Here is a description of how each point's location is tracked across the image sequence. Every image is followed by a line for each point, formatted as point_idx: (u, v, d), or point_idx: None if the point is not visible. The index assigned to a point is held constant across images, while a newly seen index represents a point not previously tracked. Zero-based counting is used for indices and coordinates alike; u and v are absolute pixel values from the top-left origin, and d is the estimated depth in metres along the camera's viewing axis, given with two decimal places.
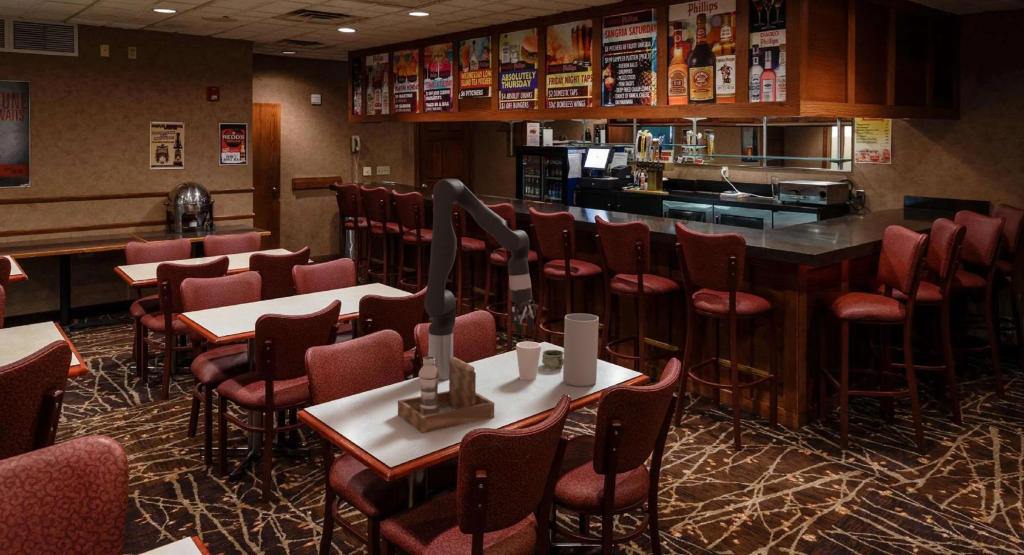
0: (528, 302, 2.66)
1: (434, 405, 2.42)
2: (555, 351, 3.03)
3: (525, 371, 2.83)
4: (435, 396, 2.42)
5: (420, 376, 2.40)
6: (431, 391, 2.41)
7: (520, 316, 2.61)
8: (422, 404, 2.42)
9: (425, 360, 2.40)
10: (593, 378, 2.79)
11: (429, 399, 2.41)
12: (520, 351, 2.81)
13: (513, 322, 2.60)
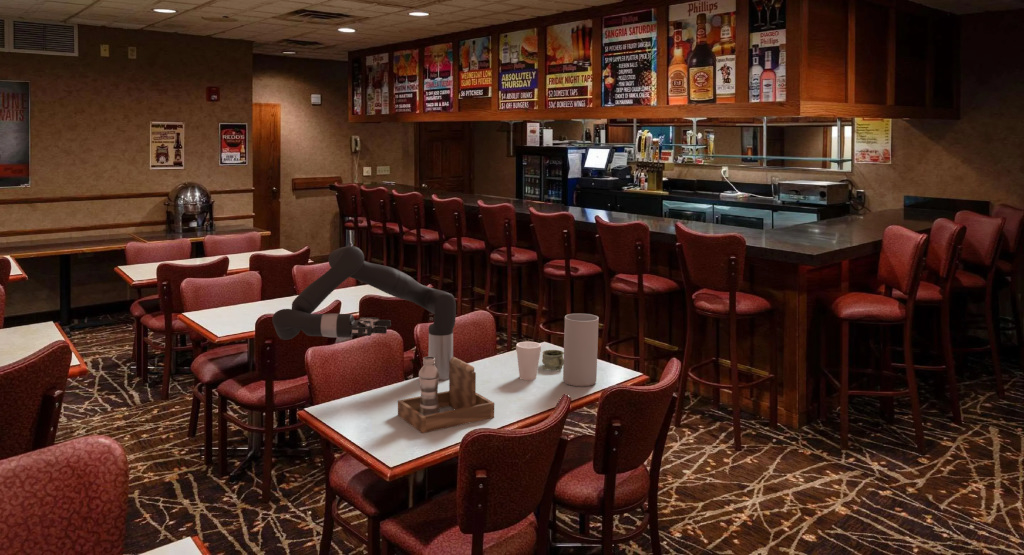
0: None
1: (434, 405, 2.42)
2: (555, 351, 3.03)
3: (525, 371, 2.83)
4: (435, 396, 2.42)
5: (420, 376, 2.40)
6: (431, 391, 2.41)
7: None
8: (422, 404, 2.42)
9: (425, 360, 2.40)
10: (593, 378, 2.79)
11: (429, 399, 2.41)
12: (520, 351, 2.81)
13: None
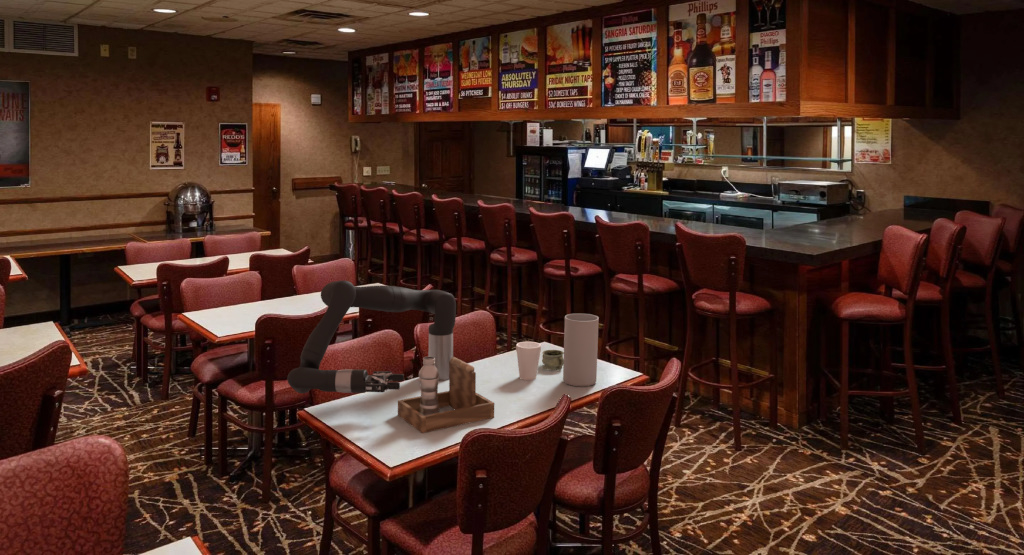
0: None
1: (434, 405, 2.42)
2: (555, 351, 3.03)
3: (525, 371, 2.83)
4: (435, 396, 2.42)
5: (420, 376, 2.40)
6: (431, 391, 2.41)
7: None
8: (422, 404, 2.42)
9: (425, 360, 2.40)
10: (593, 378, 2.79)
11: (429, 399, 2.41)
12: (520, 351, 2.81)
13: None
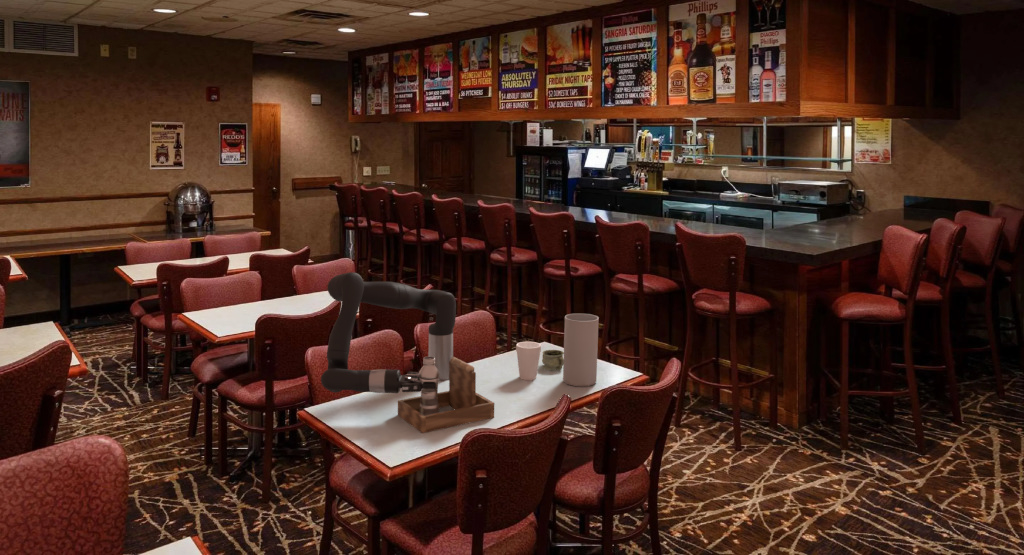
0: None
1: (434, 405, 2.42)
2: (555, 351, 3.03)
3: (525, 371, 2.83)
4: (435, 396, 2.42)
5: (420, 376, 2.40)
6: (431, 391, 2.41)
7: None
8: (422, 404, 2.42)
9: (425, 360, 2.40)
10: (593, 378, 2.79)
11: (429, 399, 2.41)
12: (520, 351, 2.81)
13: None
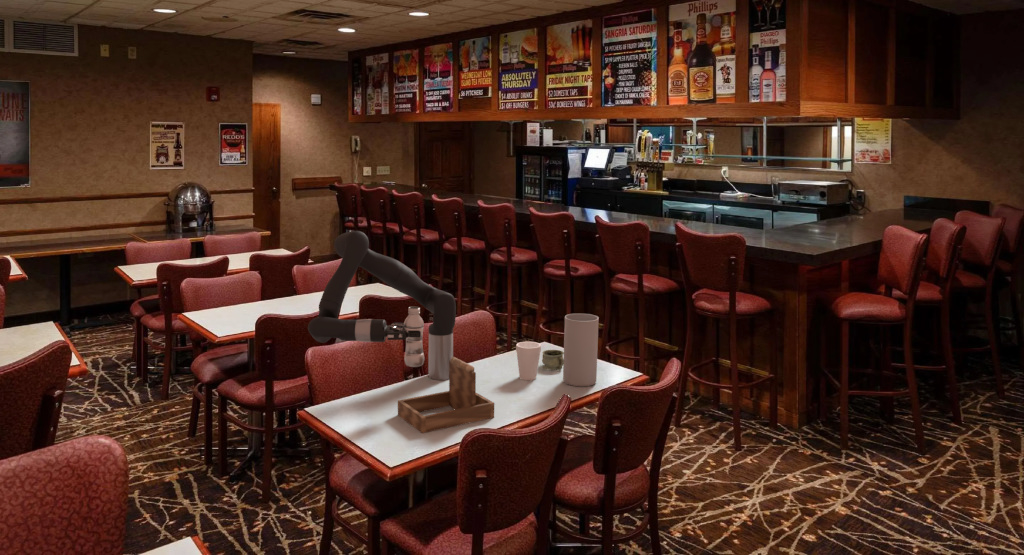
0: None
1: (419, 354, 2.47)
2: (555, 351, 3.03)
3: (525, 371, 2.83)
4: (420, 345, 2.47)
5: (405, 325, 2.46)
6: (416, 340, 2.46)
7: None
8: (407, 353, 2.47)
9: (410, 309, 2.45)
10: (593, 378, 2.79)
11: (414, 347, 2.47)
12: (520, 351, 2.81)
13: None
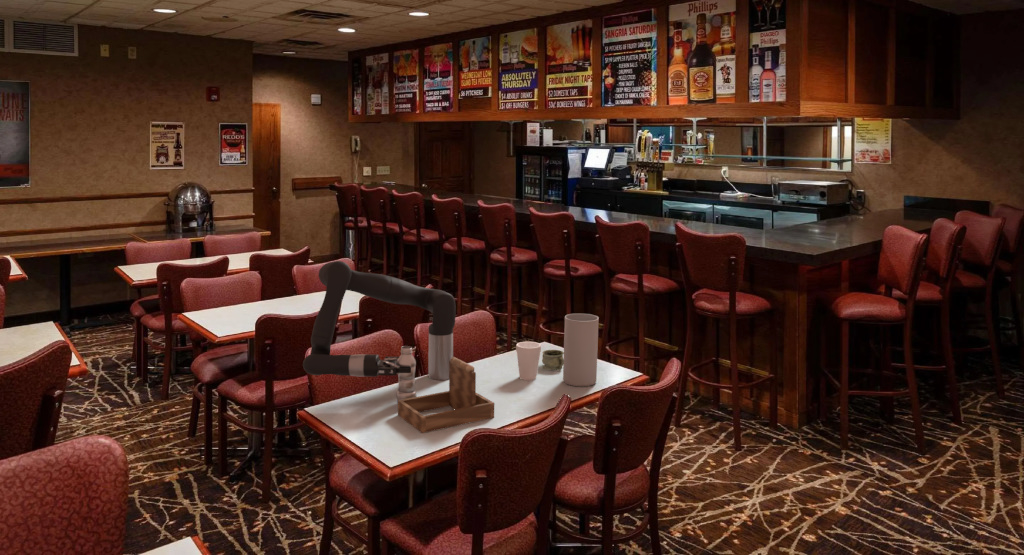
0: None
1: (411, 392, 2.53)
2: (555, 351, 3.03)
3: (525, 371, 2.83)
4: (412, 384, 2.54)
5: (398, 364, 2.52)
6: (408, 379, 2.52)
7: None
8: (399, 391, 2.54)
9: (402, 349, 2.51)
10: (593, 378, 2.79)
11: (406, 386, 2.53)
12: (520, 351, 2.81)
13: None
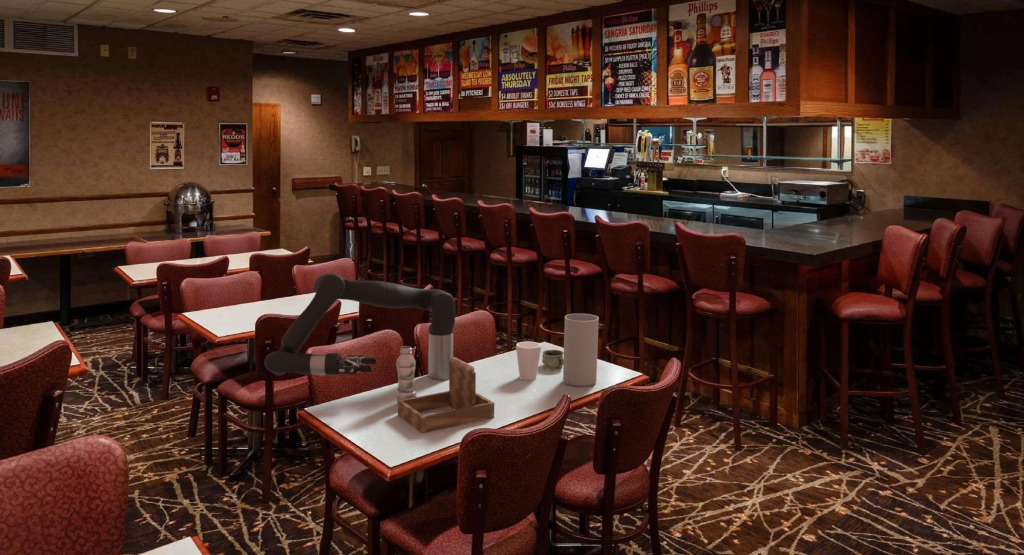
0: None
1: (411, 392, 2.53)
2: (555, 351, 3.03)
3: (525, 371, 2.83)
4: (412, 384, 2.54)
5: (397, 364, 2.52)
6: (408, 379, 2.52)
7: None
8: (399, 391, 2.54)
9: (402, 349, 2.52)
10: (593, 378, 2.79)
11: (406, 386, 2.53)
12: (520, 351, 2.81)
13: None
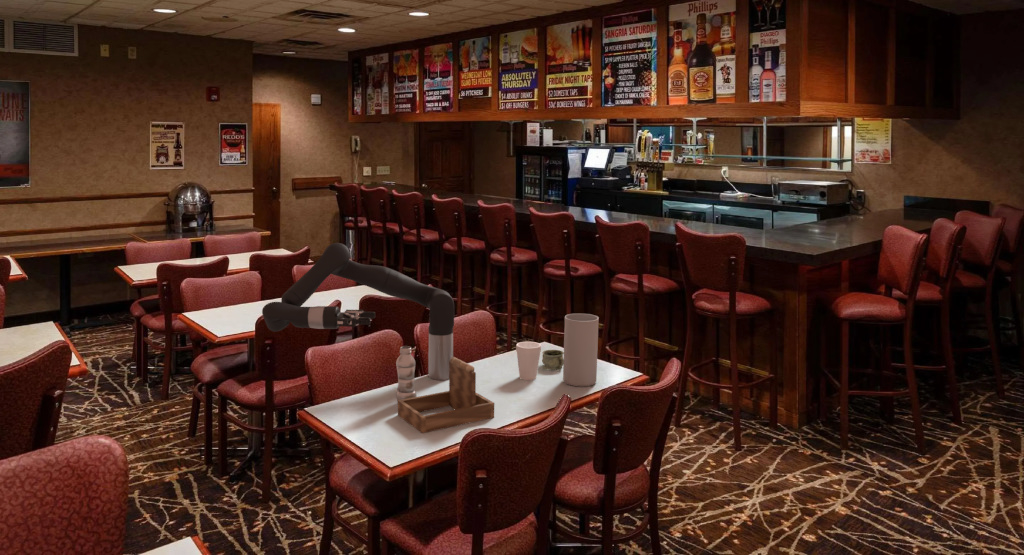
0: None
1: (411, 392, 2.53)
2: (555, 351, 3.03)
3: (525, 371, 2.83)
4: (412, 384, 2.54)
5: (397, 365, 2.52)
6: (408, 379, 2.52)
7: None
8: (399, 391, 2.54)
9: (402, 349, 2.52)
10: (593, 378, 2.79)
11: (406, 386, 2.53)
12: (520, 351, 2.81)
13: None
